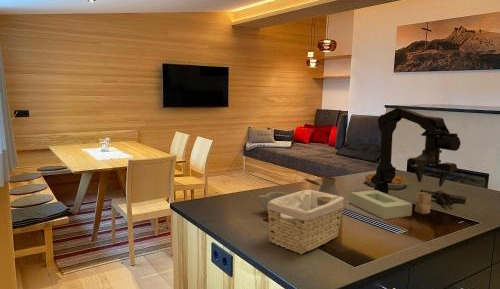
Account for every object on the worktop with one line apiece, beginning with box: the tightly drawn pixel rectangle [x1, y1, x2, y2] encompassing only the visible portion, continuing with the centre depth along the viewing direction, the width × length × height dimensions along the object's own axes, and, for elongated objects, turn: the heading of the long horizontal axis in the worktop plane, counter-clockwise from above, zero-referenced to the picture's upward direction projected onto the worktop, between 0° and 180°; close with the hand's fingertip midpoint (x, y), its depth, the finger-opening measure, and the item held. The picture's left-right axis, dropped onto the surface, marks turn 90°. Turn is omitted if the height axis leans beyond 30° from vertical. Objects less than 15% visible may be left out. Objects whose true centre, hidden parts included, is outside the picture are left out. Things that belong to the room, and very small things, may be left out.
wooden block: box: [414, 192, 432, 215], centre depth 155 cm, size 4×4×8 cm
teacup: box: [257, 191, 290, 212], centre depth 150 cm, size 14×11×8 cm
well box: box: [350, 189, 413, 220], centre depth 158 cm, size 22×14×5 cm, turn 21°
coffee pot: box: [301, 176, 340, 205], centre depth 156 cm, size 21×12×15 cm, turn 128°
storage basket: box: [267, 189, 345, 254], centre depth 123 cm, size 24×16×15 cm
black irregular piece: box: [419, 189, 467, 207], centre depth 166 cm, size 5×20×15 cm
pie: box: [364, 172, 408, 190], centre depth 200 cm, size 22×22×5 cm
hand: (429, 184), depth 154 cm, fingers open, 9 cm apart
